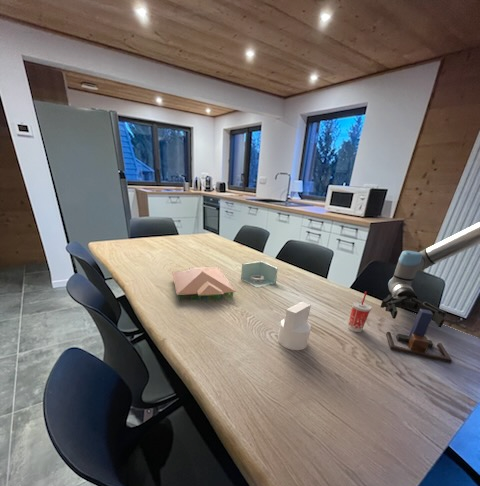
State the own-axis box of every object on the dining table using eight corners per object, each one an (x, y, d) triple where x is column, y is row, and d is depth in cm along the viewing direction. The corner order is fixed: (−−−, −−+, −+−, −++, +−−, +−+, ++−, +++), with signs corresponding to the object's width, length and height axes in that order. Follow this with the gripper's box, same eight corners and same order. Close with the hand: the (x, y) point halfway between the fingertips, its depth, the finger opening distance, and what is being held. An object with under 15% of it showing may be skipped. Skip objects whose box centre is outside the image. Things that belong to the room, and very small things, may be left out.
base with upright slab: (297, 353, 76) (304, 317, 70) (272, 340, 81) (277, 305, 76) (312, 342, 82) (320, 307, 77) (288, 330, 87) (294, 297, 82)
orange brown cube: (421, 346, 84) (426, 336, 83) (424, 353, 81) (429, 342, 79) (407, 343, 85) (411, 333, 84) (410, 350, 82) (414, 339, 80)
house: (177, 305, 97) (177, 285, 94) (171, 275, 126) (171, 258, 122) (237, 302, 104) (238, 282, 101) (218, 273, 132) (219, 258, 129)
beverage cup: (367, 330, 91) (379, 293, 85) (358, 335, 88) (370, 296, 82) (351, 322, 96) (362, 286, 90) (342, 326, 92) (352, 290, 86)
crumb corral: (439, 346, 85) (441, 343, 85) (450, 363, 77) (452, 360, 76) (386, 334, 90) (387, 331, 89) (390, 349, 81) (391, 346, 81)
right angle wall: (241, 278, 128) (242, 263, 125) (259, 275, 135) (261, 261, 132) (256, 287, 120) (258, 271, 117) (275, 283, 127) (278, 268, 123)
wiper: (429, 344, 86) (443, 312, 81) (432, 348, 83) (447, 317, 78) (395, 336, 89) (407, 306, 84) (397, 341, 86) (409, 310, 81)
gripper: (436, 310, 104) (456, 337, 85) (368, 298, 110) (373, 320, 92) (443, 293, 100) (467, 317, 82) (373, 281, 107) (380, 301, 89)
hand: (417, 319), depth 87 cm, fingers open, 13 cm apart
